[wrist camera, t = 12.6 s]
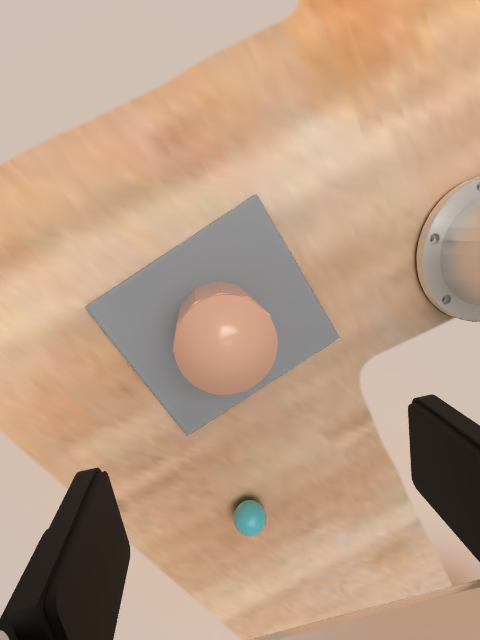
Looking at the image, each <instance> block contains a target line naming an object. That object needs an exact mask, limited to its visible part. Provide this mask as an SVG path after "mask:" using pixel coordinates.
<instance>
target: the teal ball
mask: <svg viewBox="0 0 480 640" xmlns="http://www.w3.org/2000/svg"><path fill="white" fill-rule="evenodd" d="M234 522H235V525H236V527H237V529H238V531H239V532H240V533H242V534H243V535H245V536H255V535H257V534H259V533H260V532H261V531H262V530H263V528H264V526H265V523H266V514H265V511H264V509H263V507H262V506H261V505H260V504H259V503H258V502H256V501H254V500H246V501H243V502H242V503H240V504H239V505H238V507H237V508H236V511H235V514H234Z"/></svg>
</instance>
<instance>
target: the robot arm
mask: <svg viewBox="0 0 480 640" xmlns="http://www.w3.org/2000/svg"><path fill="white" fill-rule="evenodd" d="M417 271H418V276H419V281H420V283H421V286H422V288H423V290H424V293H425V294H426V296H427V297H428V298H429V300H430V301H431V303H433V304H434V305H435V306H436V307H437V308H438V309H439V310H440V311H442V312H444V313H446V314H448V315H450V316H452V317H456V318H459V319H462V320H467V321H472V322H475V321H476V322H477V321H480V176H479V177H475V178H472V179H470V180H468V181H465V182H463V183H461V184H460V185H458V186H457V187H455V188H454V189H452V190H451V191H449V192H448V193H447V194H446V195H445V196H444V197H443V198H442V199H441V200H440V201H439V202H438V204H437V205H436V206H435V208H434V209H433V210H432V212H431V213H430V215H429V217H428V219H427V221H426V222H425V224H424V226H423V229H422V232H421V235H420V238H419V242H418V249H417ZM408 417H409V436H410V455H411V472H412V480H413V483H414V485H415V487H416V489H417V490H418V491H419V492H420V494H421V495H422V496H423V497H424V498H425V499H426V501H427V502H428V503H429V504H430V505H431V506H432V507H433V509H434V510H435V511H436V512H437V513H438V514H439V516H440V517H441V518H442V519H443V520H444V521H445V522H446V524H447V525H448V526H449V527H450V528H451V529H452V531H453V532H454V533H455V534H456V535H457V536H458V537H459V539H460V540H461V541H462V542H463V543H464V545H465V546H466V547H467V548H468V549H469V550H470V551H471V552H472V554H473V555H474V556H475V557H476V558H477V559H478V561H479V562H480V426H479V425H478V424H477V423H475V422H474V421H472V420H471V419H469V418H467V417H466V416H464V415H463V414H462V413H460V412H459V411H457V410H456V409H454V408H453V407H451V406H450V405H448V404H447V403H445V402H444V401H442V400H441V399H440V398H438V397H437V396H435V395H427V396H422V397H418V398H414V399H413V401H412V404H410V405H409V406H408ZM129 560H130V545H129V541H128V538H127V535H126V531H125V528H124V525H123V522H122V518H121V515H120V512H119V509H118V505H117V502H116V499H115V495H114V492H113V489H112V486H111V482H110V479H109V476H108V473H107V472H106V471H104V472H101V470H100V469H99V468H94V469H89V470H85V471H80V472H77V474H76V475H75V477H74V479H73V481H72V483H71V485H70V487H69V489H68V491H67V493H66V495H65V497H64V499H63V501H62V504H61V505H60V507H59V510H58V511H57V513H56V515H55V517H54V519H53V521H52V523H51V525H50V527H49V529H47V530H46V531H45V533H44V534H43V536H42V538H41V540H40V541H39V543H38V545H37V547H36V549H35V551H34V553H33V555H32V557H31V559H30V561H29V563H28V565H27V567H26V569H25V571H24V573H23V575H22V577H21V579H20V581H19V583H18V585H17V587H16V589H15V590H14V592H13V594H12V597H11V598H10V600H9V602H8V604H7V606H6V608H5V610H4V612H3V614H2V616H1V618H0V640H113V638H114V633H115V628H116V623H117V618H118V614H119V609H120V604H121V598H122V594H123V589H124V584H125V579H126V574H127V570H128V565H129ZM250 640H480V580H477V581H473V582H468V583H465V584H461V585H457V586H453V587H449V588H445V589H441V590H437V591H433V592H429V593H425V594H422V595H418V596H414V597H410V598H406V599H402V600H398V601H394V602H390V603H387V604H383V605H379V606H375V607H371V608H367V609H364V610H360V611H356V612H352V613H348V614H345V615H341V616H337V617H333V618H329V619H326V620H322V621H318V622H314V623H310V624H307V625H303V626H299V627H295V628H291V629H288V630H284V631H280V632H276V633H273V634H269V635H265V636H261V637H258V638H254V639H250Z"/></svg>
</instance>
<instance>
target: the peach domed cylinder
mask: <svg viewBox="0 0 480 640" xmlns="http://www.w3.org/2000/svg"><path fill="white" fill-rule="evenodd" d="M277 348H278V338H277V333H276V329H275V327H274V324H273V322H272V320H271V317H270V314H269V313H268V312H267V311H266V310H265V309H264V308H263V307H262V306H261V305H260V304H259V303H258V302H257V301H256V300H255V299H254V298H253V297H252V296H251V295H250V294H249V293H247V292H246V291H245V290H244V289H243V288H241V287H240V286H239V285H238V284H232V283H226V282H221V281H214V282H211V283H208V284H205V285H203V286H200V287H197V288H195V289H194V290H193V291H192V292H191V293H190V295H189V296H188V297H187V298H186V299H185V301H184V302H183V303H182V304H181V305H180V309H179V315H178V320H177V325H176V332H175V338H174V344H173V353H174V355H175V360H176V363H177V365H178V367H179V369H180V371H181V373H182V374H183V376H184V377H185V378H186V379H187V380H188V381H189V382H190V383H191V384H192V385H194V386H195V387H197V388H199V389H201V390H203V391H205V392H208V393H211V394H216V395H232V394H237V393H240V392H244V391H246V390H248V389H250V388H252V387H253V386H255V385H256V384H258V383H259V382H260V381H261V380H262V379H263V378H264V377H265V376H266V375H267V374H268V372H269V371H270V369H271V367H272V366H273V363H274V361H275V358H276V354H277Z"/></svg>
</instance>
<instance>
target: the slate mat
mask: <svg viewBox="0 0 480 640" xmlns="http://www.w3.org/2000/svg"><path fill="white" fill-rule="evenodd" d="M214 281H221V282H226V283H232V284H238V285H239V286H240V287H241V288H243V289H244V290H245V291H246V292H247V293H249V294H250V295H251V296H252V297H253V298H254V299H255V300H256V301H257V302H258V303H259V304H260V305H261V306H262V307H263V308H264V309H265V310H266V311H267V312H268V313H269V314H270V317H271V320H272V322H273V324H274V327H275V329H276V333H277V338H278V348H277V354H276V358H275V361H274V363H273V366H272V367H271V369H270V371H269V372H268V374H267V375H266V376H265V377H264V378H263V379H262V380H261V381H260V382H259V383H258V384H256V385H255V386H253V387H252V388H250V389H248V390H246V391H244V392H240V393H237V394H232V395H216V394H211V393H208V392H205V391H203V390H201V389H199V388H197V387H195V386H194V385H192V384H191V383H190V382H189V381H188V380H187V379H186V378H185V377H184V376H183V374H182V373H181V371H180V369H179V367H178V365H177V363H176V360H175V355H174V353H173V344H174V338H175V332H176V325H177V320H178V315H179V309H180V305H181V304H182V303H183V302H184V301H185V299H186V298H187V297H188V296H189V295H190V293H191V292H192V291H193V290H194V289H195V288H197V287H200V286H203V285H205V284H208V283H211V282H214ZM85 308H86V309H87V310H88V312H89V313H90V314H91V316H92V317H93V318H94V319H95V321H96V322H97V323H98V324H99V326H100V327H101V328H102V329H103V331H104V332H105V333H106V334H107V336H108V337H109V338H110V339H111V341H112V342H113V343H114V345H115V346H116V347H117V348H118V350H119V351H120V352H121V353H122V355H123V356H124V357H125V358H126V360H127V361H128V362H129V363H130V365H131V366H132V367H133V369H134V370H135V371H136V372H137V374H138V375H139V376H140V377H141V379H142V380H143V381H144V382H145V384H146V385H147V386H148V387H149V389H150V390H151V391H152V392H153V394H154V395H155V396H156V398H157V399H158V400H159V401H160V403H161V404H162V405H163V406H164V408H165V409H166V410H167V411H168V413H169V414H170V415H171V416H172V418H173V419H174V420H175V421H176V423H177V424H178V425H179V427H180V428H181V429H182V430H183V432H184V433H185V434H186V435H187V436H188V435H189V434H191V433H193V432H194V431H196V430H197V429H199V428H200V427H202V426H203V425H205V424H207V423H208V422H210V421H211V420H213V419H214V418H216V417H217V416H219V415H220V414H222V413H224V412H225V411H227V410H228V409H230V408H231V407H233V406H234V405H236V404H238V403H239V402H241V401H242V400H244V399H245V398H247V397H248V396H250V395H251V394H253V393H255V392H256V391H258V390H259V389H261V388H262V387H264V386H265V385H267V384H269V383H270V382H272V381H273V380H275V379H276V378H278V377H279V376H281V375H282V374H284V373H286V372H287V371H289V370H290V369H292V368H293V367H295V366H296V365H298V364H300V363H301V362H303V361H304V360H306V359H307V358H309V357H310V356H312V355H313V354H315V353H317V352H318V351H320V350H321V349H323V348H324V347H326V346H327V345H329V344H331V343H332V342H334V341H335V340H337V339H338V338H340V337H339V336H338V334H337V332H336V330H335V329H334V327H333V325H332V324H331V322H330V320H329V318H328V317H327V315H326V313H325V311H324V310H323V308H322V306H321V305H320V303H319V301H318V299H317V298H316V296H315V294H314V292H313V291H312V289H311V287H310V285H309V284H308V282H307V280H306V279H305V277H304V275H303V273H302V272H301V270H300V268H299V266H298V265H297V263H296V261H295V260H294V258H293V256H292V254H291V253H290V251H289V249H288V247H287V246H286V244H285V242H284V241H283V239H282V237H281V235H280V234H279V232H278V230H277V228H276V227H275V225H274V223H273V221H272V220H271V218H270V216H269V215H268V213H267V211H266V209H265V208H264V206H263V204H262V202H261V201H260V199H259V197H258V196H257V194H256V195H254V196H253V197H251V198H250V199H248V200H246V201H245V202H243V203H242V204H240V205H239V206H237V207H236V208H234V209H233V210H231V211H230V212H228V213H227V214H225V215H224V216H222V217H221V218H219V219H218V220H216V221H215V222H213V223H212V224H210V225H209V226H207V227H206V228H204V229H203V230H201V231H200V232H198V233H196V234H195V235H193V236H192V237H190V238H189V239H187V240H186V241H184V242H183V243H181V244H180V245H178V246H177V247H175V248H174V249H172V250H171V251H169V252H168V253H166V254H165V255H163V256H162V257H160V258H159V259H157V260H156V261H154V262H153V263H151V264H150V265H148V266H146V267H145V268H143V269H142V270H140V271H139V272H137V273H136V274H134V275H133V276H131V277H130V278H128V279H127V280H125V281H124V282H122V283H121V284H119V285H118V286H116V287H115V288H113V289H112V290H110V291H109V292H107V293H106V294H104V295H103V296H101V297H100V298H98V299H96V300H95V301H93V302H92V303H90V304H89V305H87V306H86V307H85Z"/></svg>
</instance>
